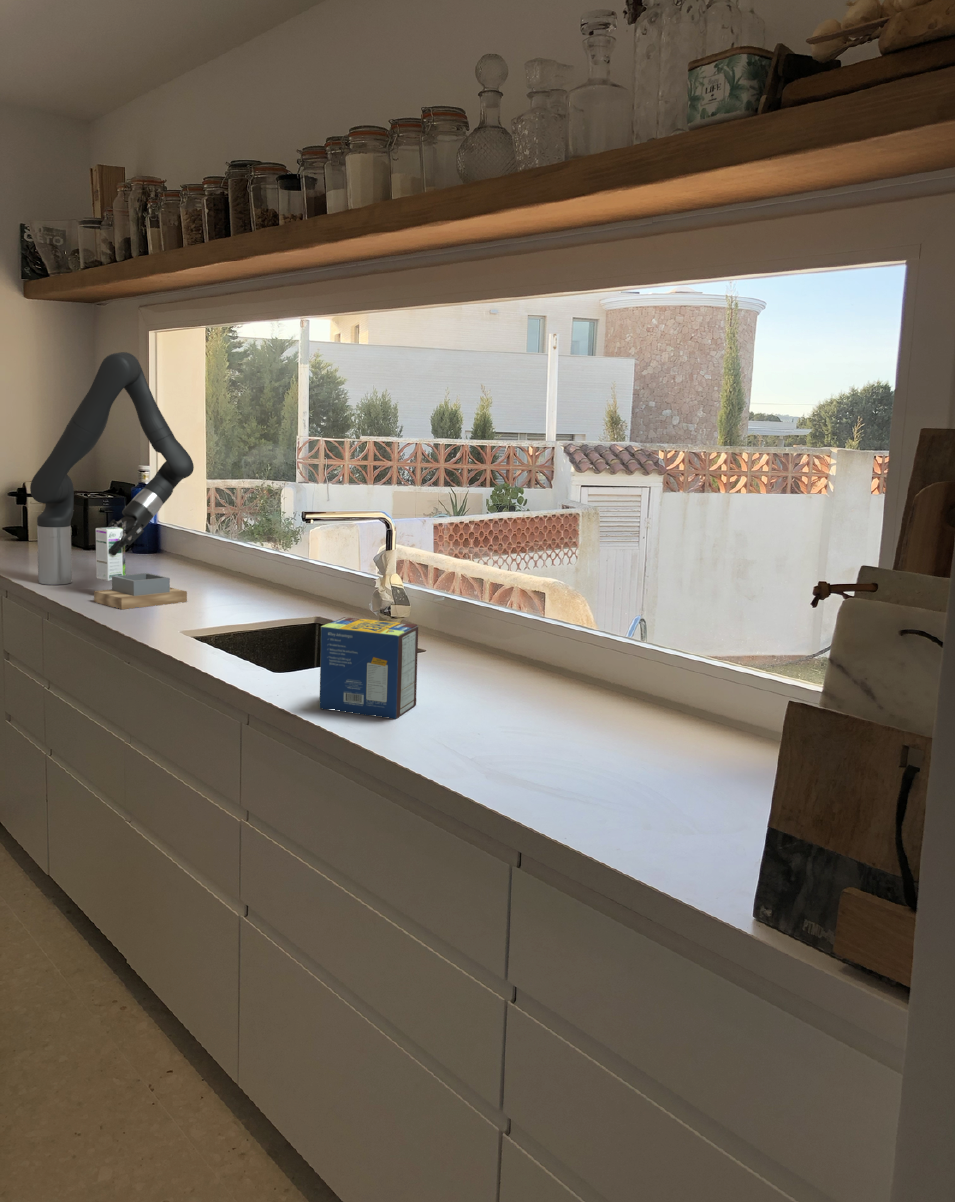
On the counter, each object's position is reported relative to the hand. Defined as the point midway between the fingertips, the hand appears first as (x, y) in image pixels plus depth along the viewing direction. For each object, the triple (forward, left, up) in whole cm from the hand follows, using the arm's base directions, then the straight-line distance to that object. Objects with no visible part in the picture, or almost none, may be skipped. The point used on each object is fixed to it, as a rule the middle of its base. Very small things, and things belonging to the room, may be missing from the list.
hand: (105, 551), depth 281 cm
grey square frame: (+12, +4, -10) cm, 16 cm away
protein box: (+129, -21, -13) cm, 132 cm away
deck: (+12, +4, -13) cm, 18 cm away
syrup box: (0, +2, -8) cm, 8 cm away
